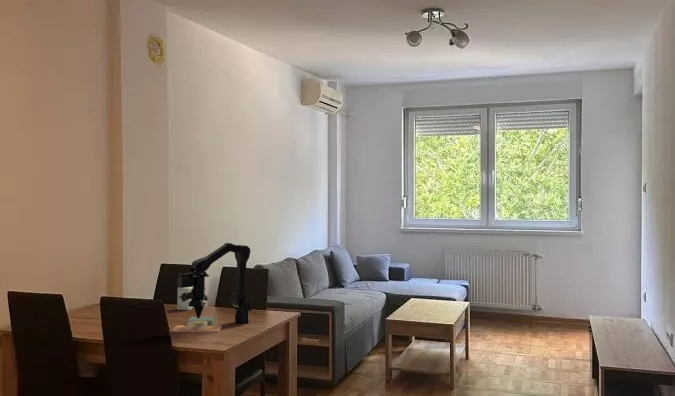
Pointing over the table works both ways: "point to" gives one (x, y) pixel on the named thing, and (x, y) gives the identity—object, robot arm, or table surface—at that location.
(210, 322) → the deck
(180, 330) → the mat
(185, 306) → the supplement box
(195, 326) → the birch block
